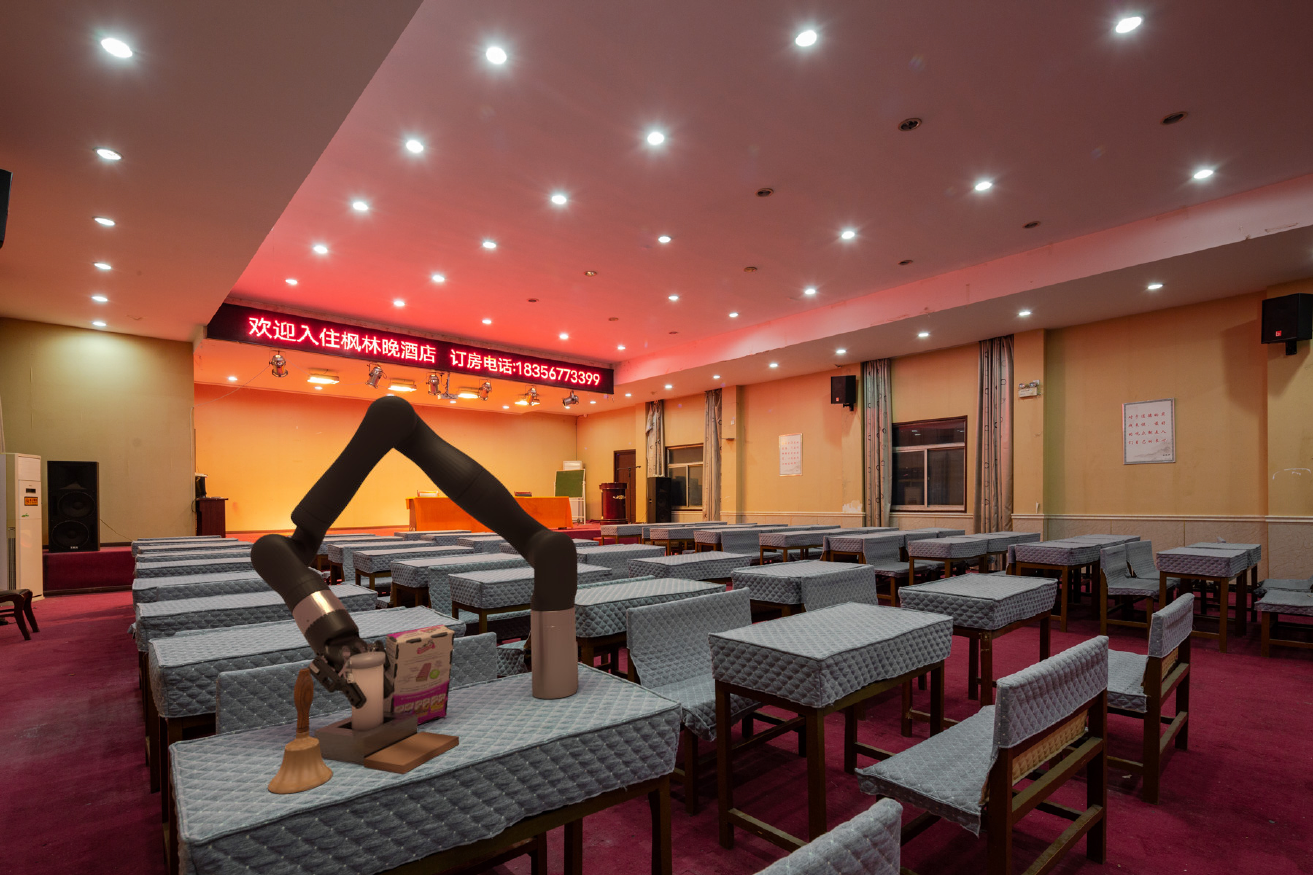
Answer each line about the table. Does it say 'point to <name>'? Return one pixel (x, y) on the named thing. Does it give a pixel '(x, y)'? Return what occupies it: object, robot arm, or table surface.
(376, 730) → the housing
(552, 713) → the table surface
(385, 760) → the board
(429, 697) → the candy bar box
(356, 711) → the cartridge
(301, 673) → the hand bell
